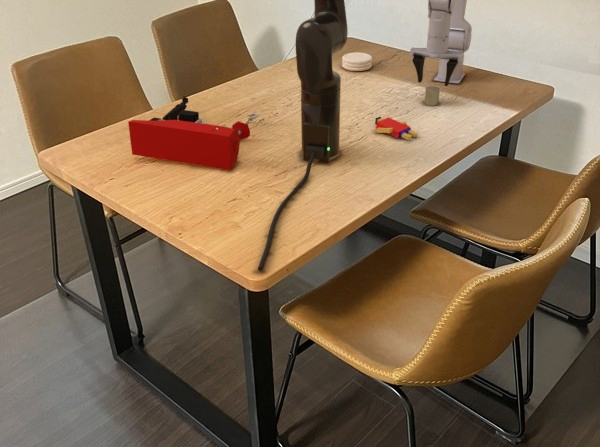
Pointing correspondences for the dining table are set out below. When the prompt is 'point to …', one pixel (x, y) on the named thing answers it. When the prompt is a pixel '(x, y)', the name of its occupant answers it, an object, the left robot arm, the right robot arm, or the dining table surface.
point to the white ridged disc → (357, 61)
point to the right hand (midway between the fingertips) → (433, 83)
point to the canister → (432, 95)
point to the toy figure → (394, 128)
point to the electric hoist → (188, 139)
